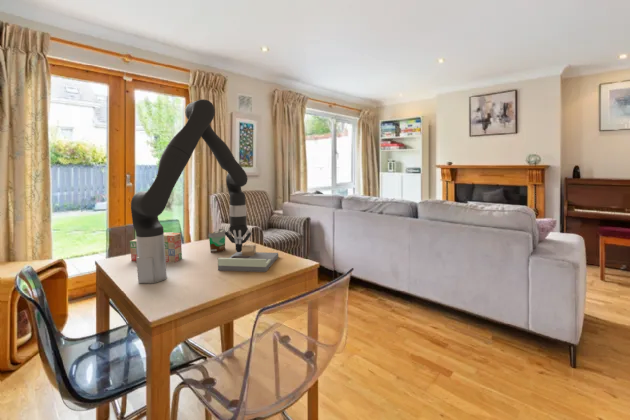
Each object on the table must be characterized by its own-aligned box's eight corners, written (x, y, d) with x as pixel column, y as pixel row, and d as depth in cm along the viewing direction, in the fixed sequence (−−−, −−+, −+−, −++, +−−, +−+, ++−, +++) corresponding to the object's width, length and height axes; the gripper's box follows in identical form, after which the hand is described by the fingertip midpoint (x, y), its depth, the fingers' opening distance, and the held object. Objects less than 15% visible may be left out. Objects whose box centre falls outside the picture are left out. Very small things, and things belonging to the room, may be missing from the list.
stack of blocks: (130, 261, 150) (128, 234, 148) (139, 257, 156) (137, 231, 154) (175, 262, 147) (173, 235, 146) (182, 258, 154) (181, 232, 152)
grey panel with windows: (265, 271, 133) (265, 259, 132) (218, 270, 135) (217, 258, 134) (278, 256, 154) (278, 246, 154) (237, 255, 157) (236, 245, 156)
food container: (221, 253, 161) (220, 233, 159) (209, 253, 162) (208, 233, 160) (231, 247, 173) (230, 228, 171) (220, 247, 174) (219, 228, 172)
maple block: (252, 255, 149) (252, 247, 149) (242, 255, 150) (241, 246, 149) (256, 252, 154) (255, 244, 154) (245, 252, 155) (245, 244, 154)
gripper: (220, 215, 148) (222, 253, 150) (249, 216, 146) (250, 254, 148) (227, 213, 155) (228, 249, 157) (254, 213, 154) (255, 250, 156)
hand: (239, 251), depth 153 cm, fingers closed
